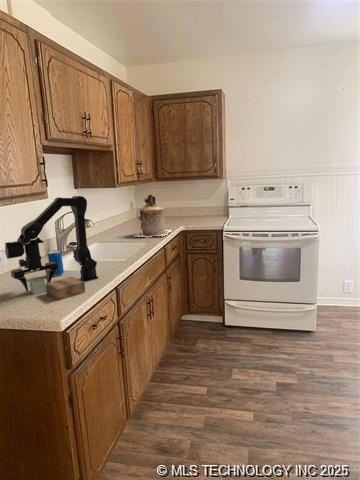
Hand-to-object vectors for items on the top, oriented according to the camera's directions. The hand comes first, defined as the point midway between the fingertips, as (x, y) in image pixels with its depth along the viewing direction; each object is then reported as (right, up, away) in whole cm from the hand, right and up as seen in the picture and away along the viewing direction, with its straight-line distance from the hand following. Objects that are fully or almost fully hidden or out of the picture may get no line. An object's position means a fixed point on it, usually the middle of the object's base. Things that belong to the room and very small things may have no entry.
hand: (38, 288), depth 155 cm
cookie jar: (+42, +25, +120) cm, 129 cm away
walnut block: (+14, -2, -4) cm, 15 cm away
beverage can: (0, +3, +25) cm, 25 cm away
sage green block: (0, -1, 0) cm, 1 cm away
